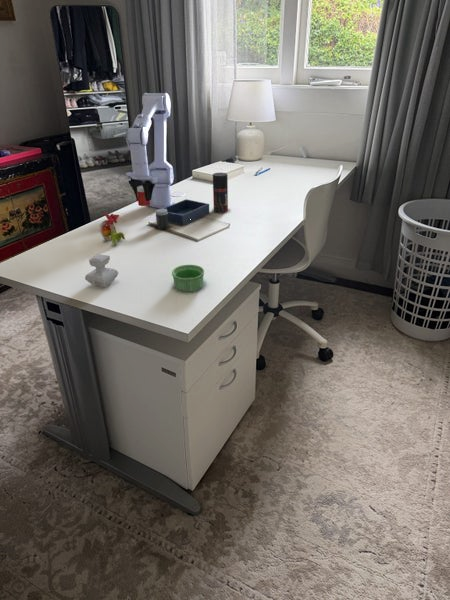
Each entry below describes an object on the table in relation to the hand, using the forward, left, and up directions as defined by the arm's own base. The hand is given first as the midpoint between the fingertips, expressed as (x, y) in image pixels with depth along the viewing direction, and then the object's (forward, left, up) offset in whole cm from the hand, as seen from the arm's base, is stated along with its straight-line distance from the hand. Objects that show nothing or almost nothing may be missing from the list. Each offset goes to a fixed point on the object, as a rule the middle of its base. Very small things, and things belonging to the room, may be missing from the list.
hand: (143, 199), depth 161 cm
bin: (+9, +13, -9) cm, 18 cm away
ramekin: (+48, -32, -9) cm, 58 cm away
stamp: (+27, -45, -9) cm, 53 cm away
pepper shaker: (+10, -1, -9) cm, 13 cm away
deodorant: (+17, +27, -9) cm, 33 cm away
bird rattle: (+5, -22, -9) cm, 24 cm away
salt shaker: (0, 0, -2) cm, 2 cm away
